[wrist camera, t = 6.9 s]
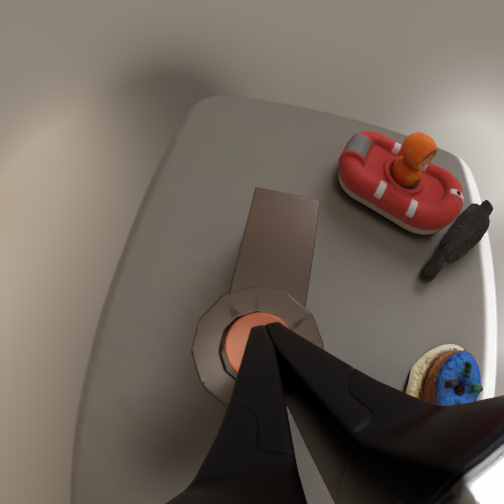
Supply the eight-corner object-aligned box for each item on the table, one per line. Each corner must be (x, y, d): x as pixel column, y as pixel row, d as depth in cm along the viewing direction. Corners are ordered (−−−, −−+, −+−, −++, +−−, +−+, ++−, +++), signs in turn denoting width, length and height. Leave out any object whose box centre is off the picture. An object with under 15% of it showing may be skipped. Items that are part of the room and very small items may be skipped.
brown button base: (284, 406, 18) (309, 421, 11) (201, 389, 19) (180, 396, 12) (313, 242, 23) (341, 186, 16) (241, 227, 24) (242, 165, 17)
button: (282, 386, 12) (288, 387, 11) (220, 373, 13) (217, 373, 11) (294, 326, 14) (301, 319, 12) (234, 314, 14) (233, 305, 12)
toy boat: (434, 255, 23) (485, 215, 16) (322, 192, 25) (347, 130, 18) (446, 196, 26) (486, 151, 19) (349, 140, 28) (372, 82, 21)
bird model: (486, 183, 23) (472, 193, 26) (421, 265, 21) (406, 272, 24) (503, 207, 22) (489, 216, 25) (443, 295, 20) (427, 299, 23)
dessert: (410, 338, 20) (483, 336, 15) (436, 348, 23) (494, 346, 18) (389, 441, 17) (462, 453, 12) (420, 431, 20) (478, 437, 16)
